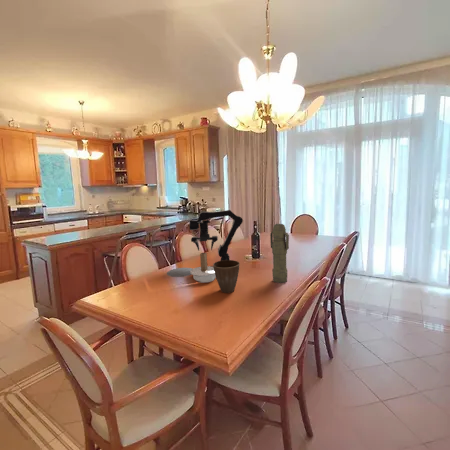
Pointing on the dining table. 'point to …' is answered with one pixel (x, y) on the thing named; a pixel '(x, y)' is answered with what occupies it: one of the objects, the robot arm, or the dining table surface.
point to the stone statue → (279, 252)
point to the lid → (203, 267)
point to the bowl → (204, 278)
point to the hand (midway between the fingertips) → (205, 250)
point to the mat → (179, 272)
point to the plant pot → (226, 274)
